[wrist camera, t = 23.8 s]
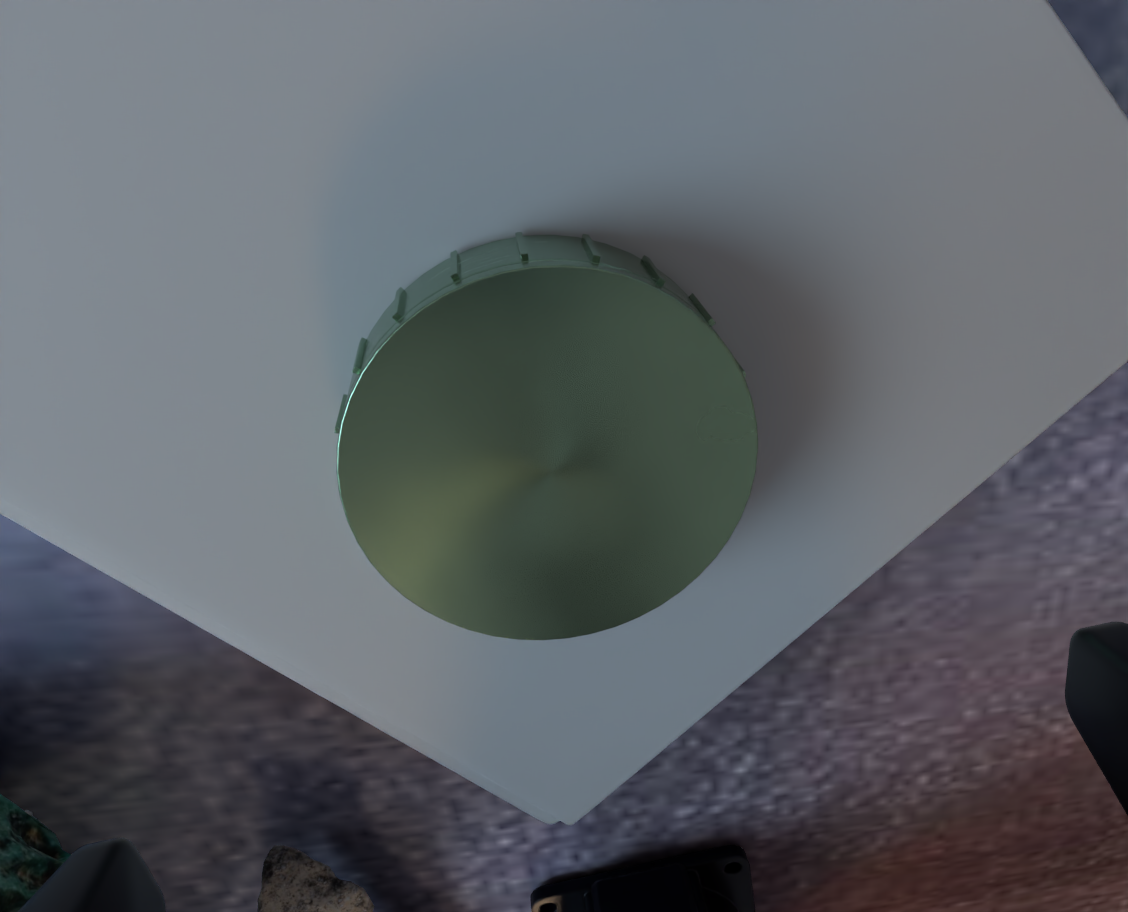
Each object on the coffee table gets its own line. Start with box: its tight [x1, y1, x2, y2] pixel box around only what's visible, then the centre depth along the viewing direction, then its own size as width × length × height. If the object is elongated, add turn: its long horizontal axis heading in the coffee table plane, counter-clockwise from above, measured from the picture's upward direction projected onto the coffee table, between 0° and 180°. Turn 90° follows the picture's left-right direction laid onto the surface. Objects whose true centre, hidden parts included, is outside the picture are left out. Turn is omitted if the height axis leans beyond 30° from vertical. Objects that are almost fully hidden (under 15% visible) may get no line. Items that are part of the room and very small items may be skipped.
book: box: [0, 0, 1128, 825], centre depth 16 cm, size 18×4×24 cm
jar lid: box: [334, 232, 758, 640], centre depth 15 cm, size 7×7×2 cm
